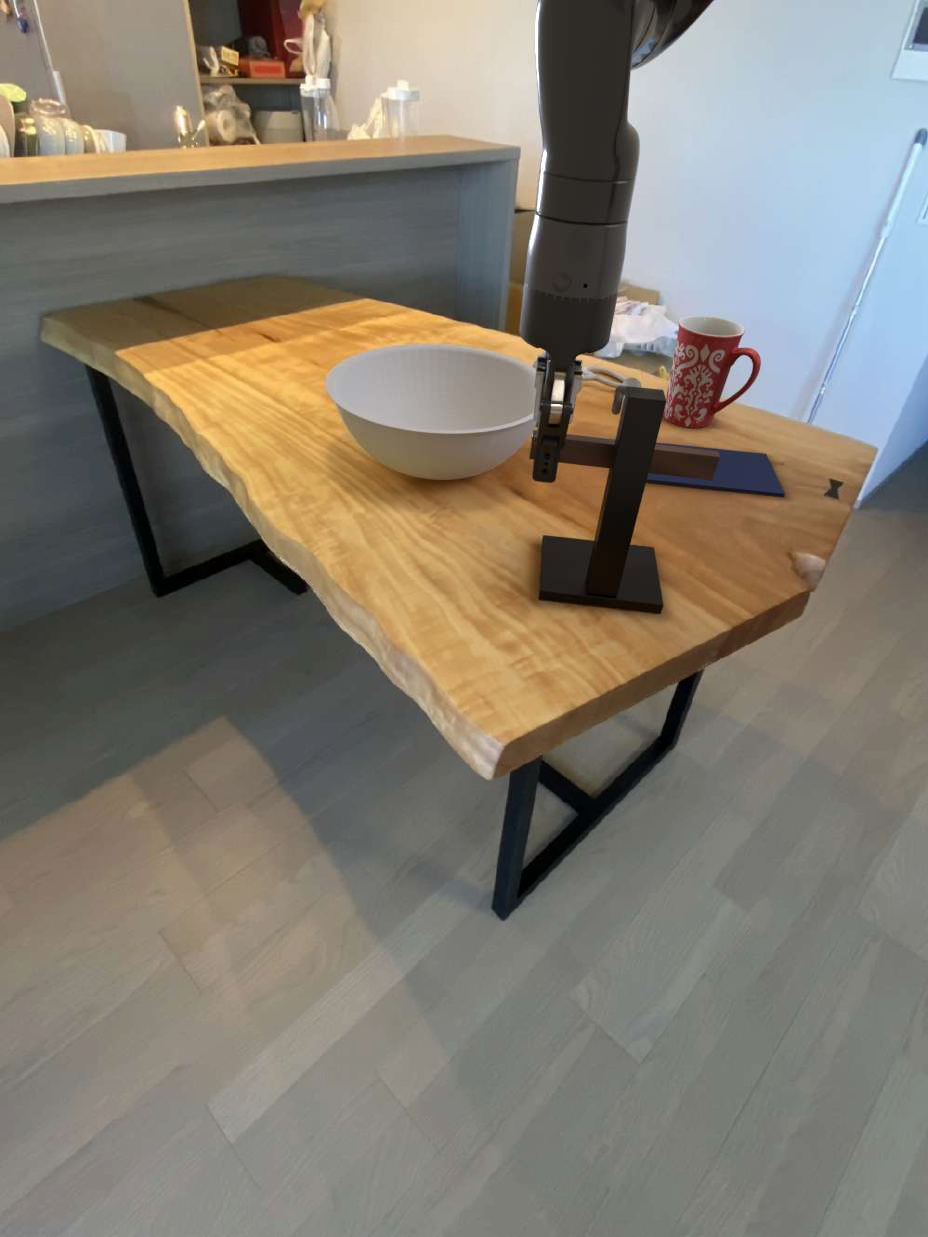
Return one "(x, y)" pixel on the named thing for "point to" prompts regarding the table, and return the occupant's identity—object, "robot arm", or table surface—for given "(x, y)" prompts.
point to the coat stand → (613, 524)
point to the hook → (592, 376)
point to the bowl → (435, 407)
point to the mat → (731, 474)
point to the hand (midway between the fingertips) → (543, 474)
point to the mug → (704, 369)
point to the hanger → (663, 459)
